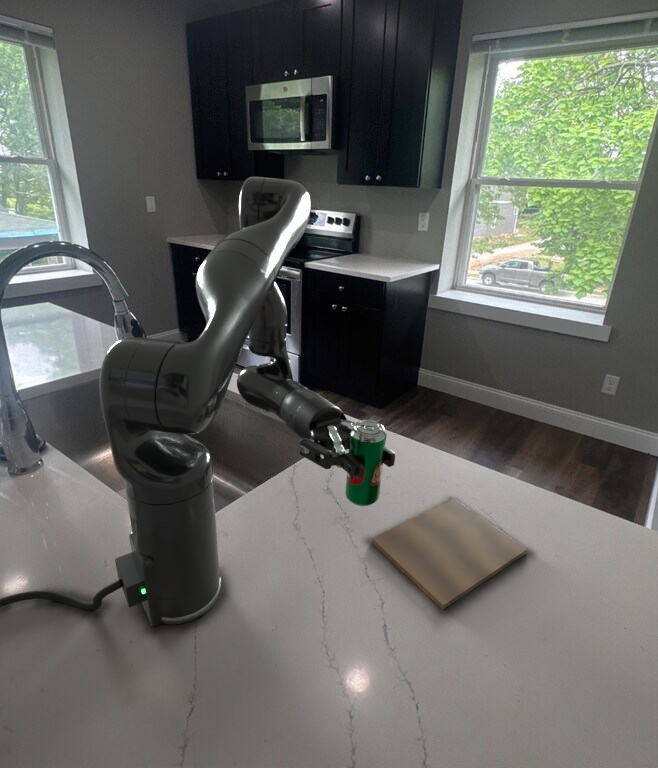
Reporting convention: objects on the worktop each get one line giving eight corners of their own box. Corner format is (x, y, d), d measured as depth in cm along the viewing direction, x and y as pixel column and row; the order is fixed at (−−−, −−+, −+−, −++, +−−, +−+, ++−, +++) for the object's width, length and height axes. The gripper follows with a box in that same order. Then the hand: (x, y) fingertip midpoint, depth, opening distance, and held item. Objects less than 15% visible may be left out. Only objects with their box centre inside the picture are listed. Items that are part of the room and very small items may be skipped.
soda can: (376, 511, 67) (385, 439, 62) (342, 504, 68) (348, 433, 63) (380, 490, 72) (388, 421, 67) (348, 484, 73) (354, 416, 68)
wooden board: (442, 610, 58) (443, 605, 58) (371, 542, 69) (371, 538, 68) (526, 553, 68) (527, 549, 68) (453, 501, 79) (454, 498, 78)
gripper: (274, 406, 72) (338, 458, 60) (347, 388, 80) (418, 430, 68) (273, 447, 75) (334, 505, 63) (344, 426, 83) (411, 474, 71)
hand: (377, 466), depth 65 cm, fingers closed on soda can, 5 cm apart
